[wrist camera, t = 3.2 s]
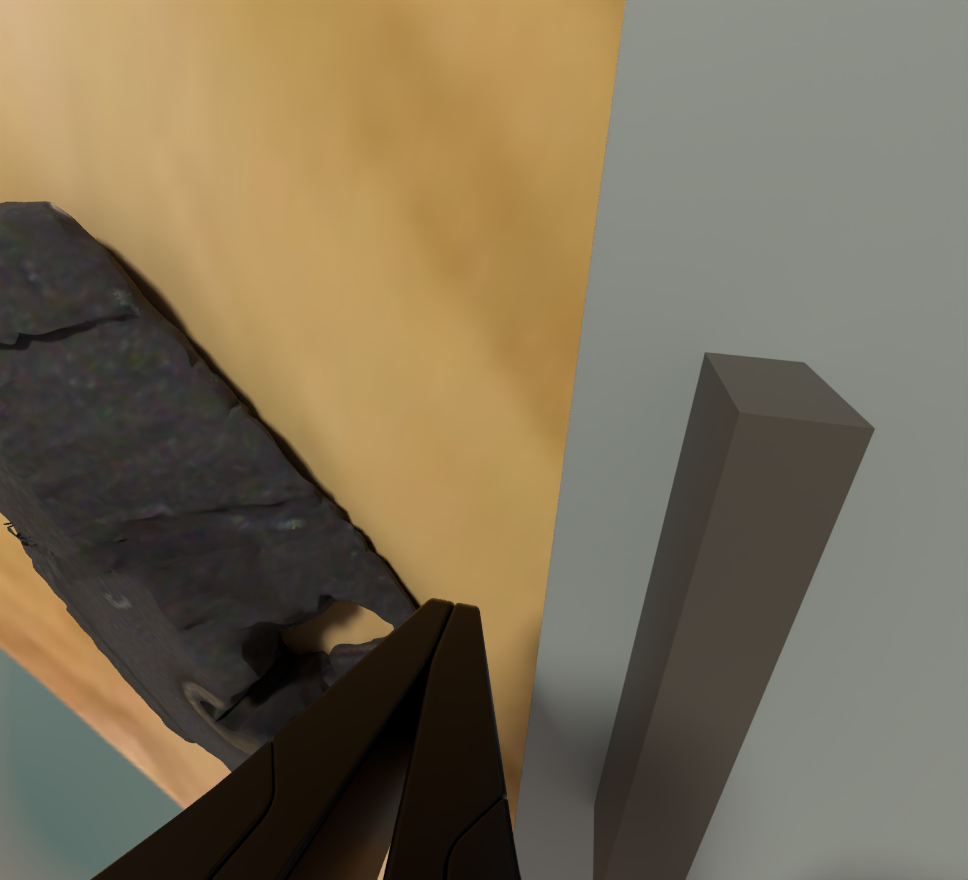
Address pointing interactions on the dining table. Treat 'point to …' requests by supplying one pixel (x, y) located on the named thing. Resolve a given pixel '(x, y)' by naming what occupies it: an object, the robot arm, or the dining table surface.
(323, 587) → the dark slate chunk
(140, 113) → the dining table surface
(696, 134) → the lid
